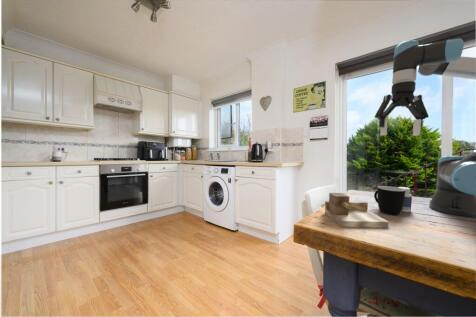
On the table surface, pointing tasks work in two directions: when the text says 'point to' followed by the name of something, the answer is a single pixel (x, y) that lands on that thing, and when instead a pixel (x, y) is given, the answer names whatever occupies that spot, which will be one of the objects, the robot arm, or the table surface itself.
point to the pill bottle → (406, 200)
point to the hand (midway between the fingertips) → (399, 135)
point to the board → (357, 216)
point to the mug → (390, 199)
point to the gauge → (339, 204)
